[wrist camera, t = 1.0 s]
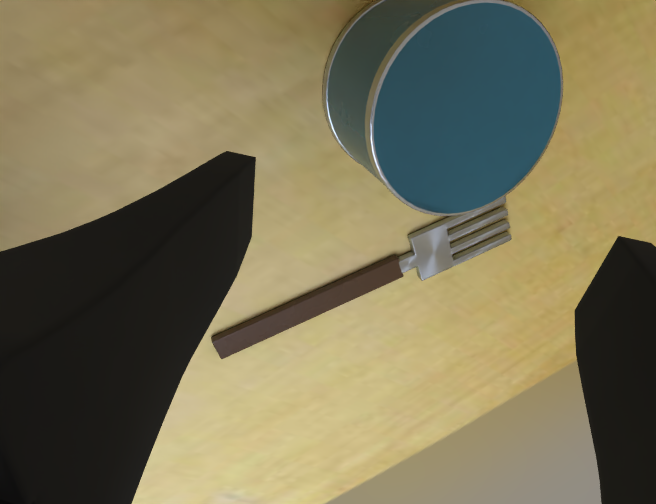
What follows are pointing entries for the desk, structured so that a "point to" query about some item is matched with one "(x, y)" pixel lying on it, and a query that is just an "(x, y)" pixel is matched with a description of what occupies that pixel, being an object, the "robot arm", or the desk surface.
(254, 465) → the desk surface
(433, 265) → the fork
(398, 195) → the tin can
